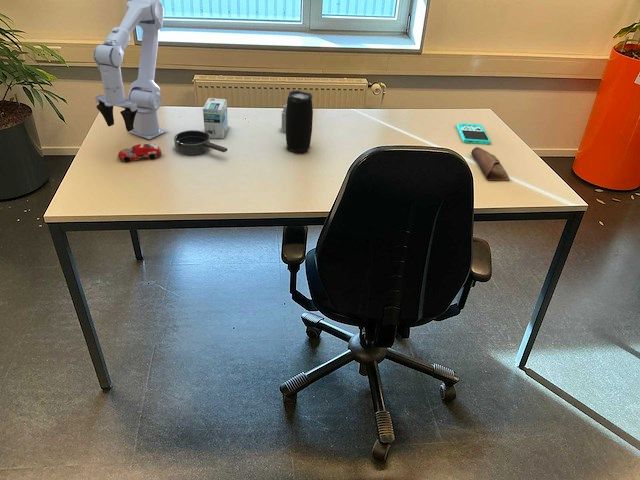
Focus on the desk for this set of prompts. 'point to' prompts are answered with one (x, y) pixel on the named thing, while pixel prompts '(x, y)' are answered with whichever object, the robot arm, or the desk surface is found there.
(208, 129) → the light bulb box
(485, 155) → the sunglasses case
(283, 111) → the power adapter
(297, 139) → the portable speaker
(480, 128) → the handheld game console
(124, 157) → the race car
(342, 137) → the desk surface
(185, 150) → the pan
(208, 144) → the pan handle
